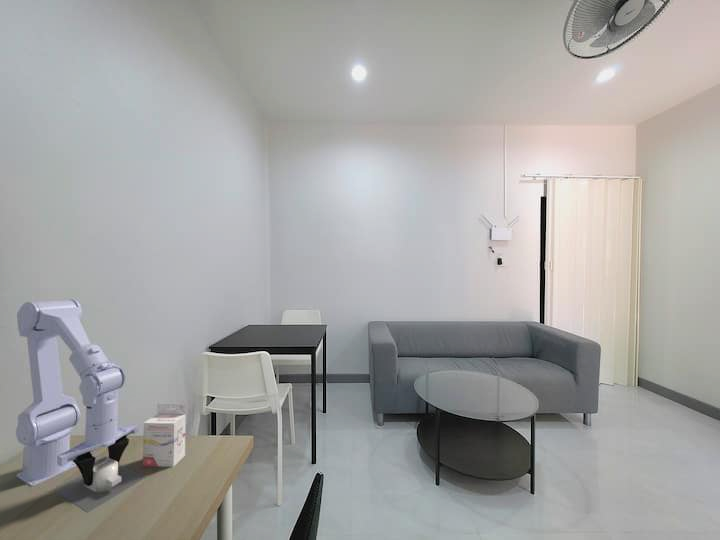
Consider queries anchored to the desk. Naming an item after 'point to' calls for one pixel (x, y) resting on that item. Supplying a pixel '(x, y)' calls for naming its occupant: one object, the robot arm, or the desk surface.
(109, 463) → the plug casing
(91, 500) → the desk mat
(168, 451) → the ink cartridge box
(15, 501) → the desk surface
